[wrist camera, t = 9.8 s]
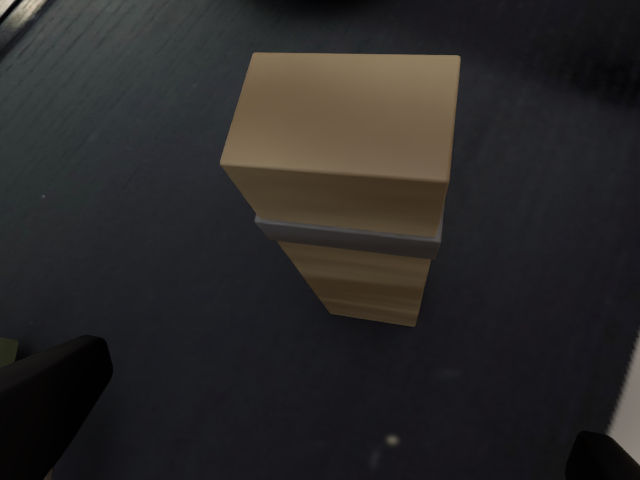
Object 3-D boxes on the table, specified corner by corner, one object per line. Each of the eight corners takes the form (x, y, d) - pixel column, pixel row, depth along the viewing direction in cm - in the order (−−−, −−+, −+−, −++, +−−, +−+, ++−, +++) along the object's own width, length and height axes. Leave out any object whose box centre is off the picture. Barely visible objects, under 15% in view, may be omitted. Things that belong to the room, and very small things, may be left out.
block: (417, 329, 19) (455, 188, 7) (327, 315, 20) (210, 168, 8) (423, 270, 20) (467, 49, 7) (337, 259, 21) (248, 47, 8)
